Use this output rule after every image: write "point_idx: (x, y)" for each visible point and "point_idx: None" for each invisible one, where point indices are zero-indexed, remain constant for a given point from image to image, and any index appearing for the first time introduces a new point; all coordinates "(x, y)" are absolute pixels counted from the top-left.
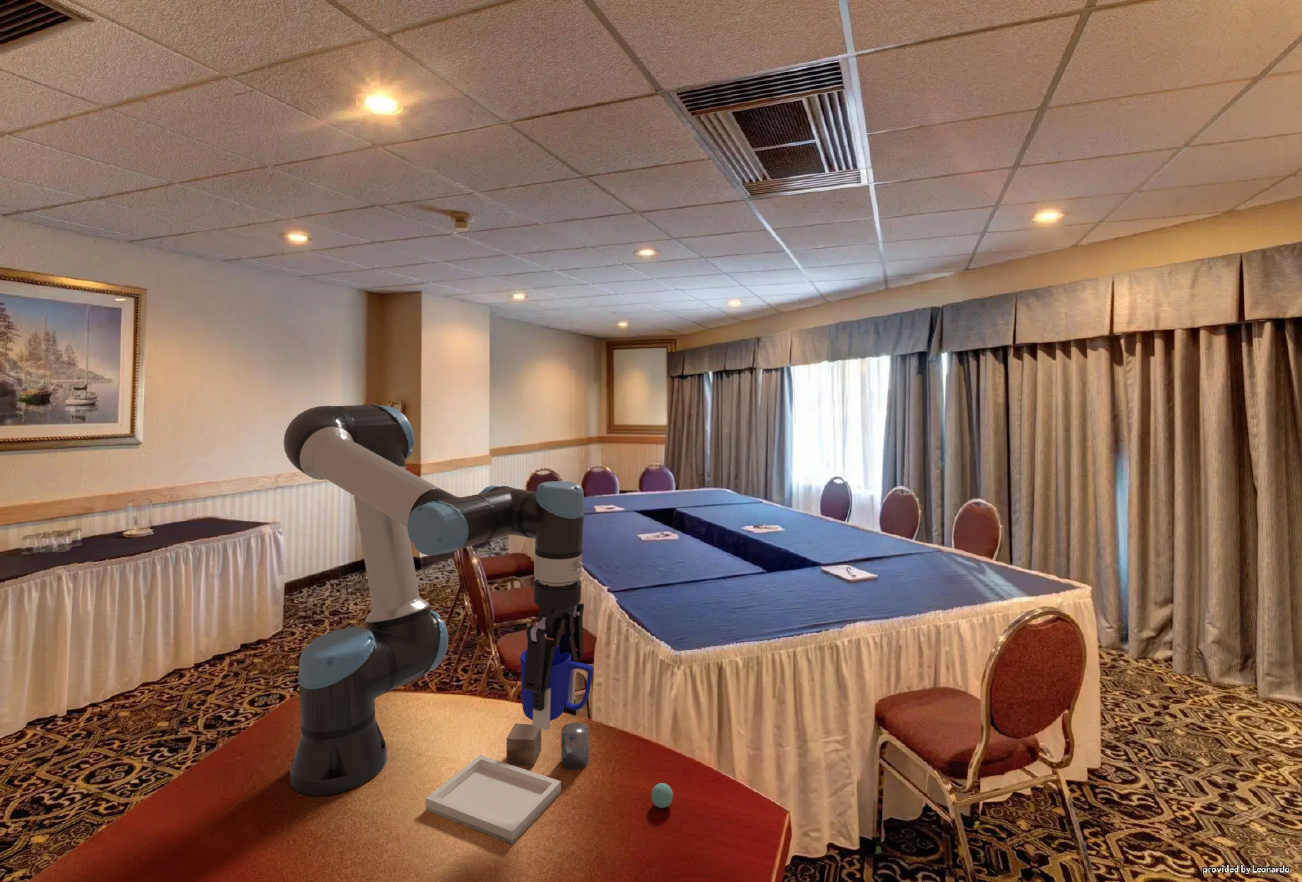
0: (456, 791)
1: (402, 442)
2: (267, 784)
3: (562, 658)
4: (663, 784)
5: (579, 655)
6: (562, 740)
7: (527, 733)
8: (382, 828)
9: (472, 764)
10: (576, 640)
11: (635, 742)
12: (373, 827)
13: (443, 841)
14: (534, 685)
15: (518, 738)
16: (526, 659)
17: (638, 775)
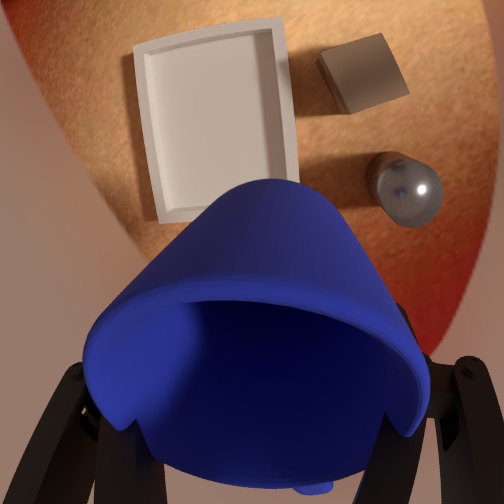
0: (192, 52)
1: None
2: None
3: (368, 408)
4: None
5: (435, 421)
6: (383, 174)
7: (365, 83)
8: (91, 42)
9: (247, 27)
10: (448, 482)
11: (473, 247)
12: (87, 32)
13: (116, 129)
14: (86, 410)
15: (336, 77)
16: (21, 460)
17: (396, 293)
